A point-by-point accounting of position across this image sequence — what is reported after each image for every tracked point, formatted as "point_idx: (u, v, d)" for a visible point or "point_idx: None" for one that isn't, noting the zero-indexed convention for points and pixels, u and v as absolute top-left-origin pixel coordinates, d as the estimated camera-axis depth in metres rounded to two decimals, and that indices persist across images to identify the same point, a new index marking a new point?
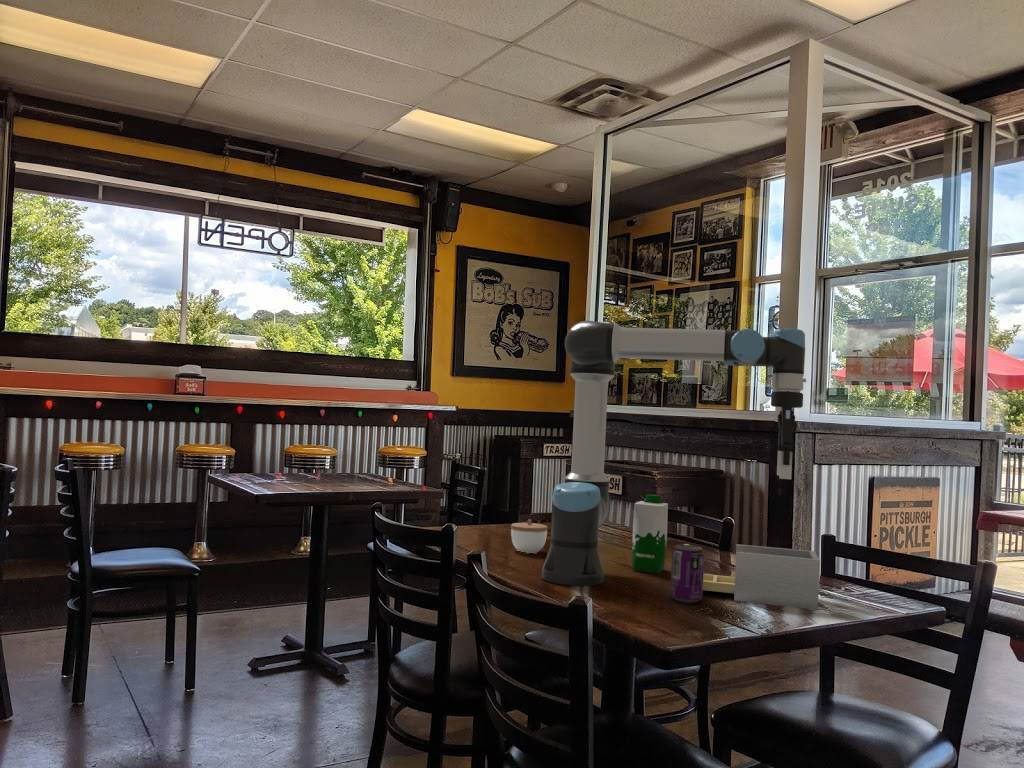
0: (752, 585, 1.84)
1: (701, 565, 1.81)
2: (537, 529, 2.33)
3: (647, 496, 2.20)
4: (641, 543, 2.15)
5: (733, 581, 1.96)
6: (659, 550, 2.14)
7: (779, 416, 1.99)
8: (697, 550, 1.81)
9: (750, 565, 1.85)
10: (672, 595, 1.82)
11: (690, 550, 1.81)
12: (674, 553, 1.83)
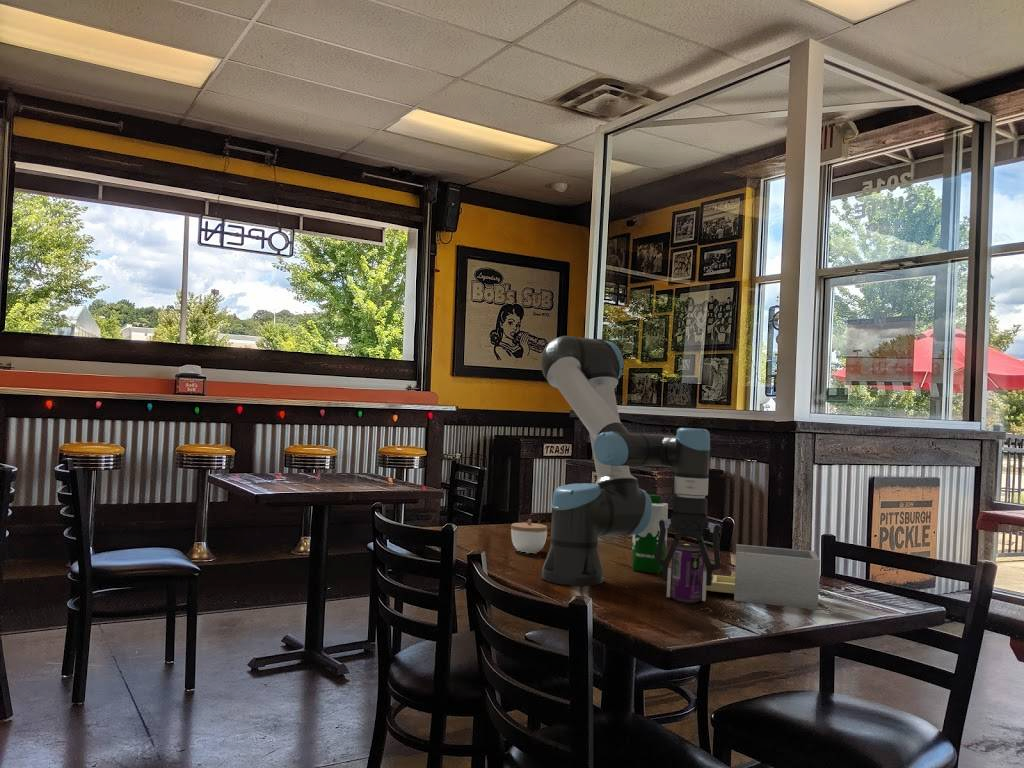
0: (752, 585, 1.84)
1: (701, 565, 1.81)
2: (537, 529, 2.33)
3: None
4: (641, 543, 2.15)
5: (733, 581, 1.96)
6: None
7: None
8: (697, 550, 1.81)
9: (750, 565, 1.85)
10: (672, 595, 1.82)
11: (690, 550, 1.81)
12: (674, 553, 1.83)
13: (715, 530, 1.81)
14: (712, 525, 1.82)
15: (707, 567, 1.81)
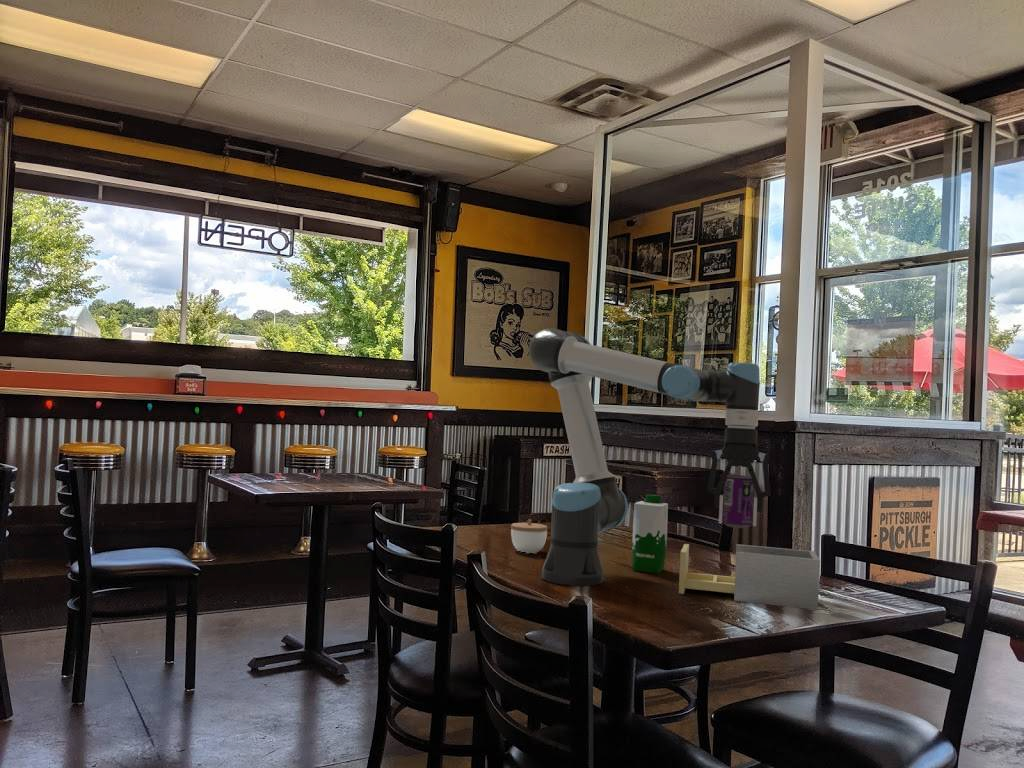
0: (752, 585, 1.84)
1: (752, 492, 1.90)
2: (537, 529, 2.33)
3: (647, 496, 2.20)
4: (641, 543, 2.15)
5: (733, 581, 1.96)
6: (659, 550, 2.14)
7: None
8: (748, 478, 1.90)
9: (750, 565, 1.85)
10: (724, 521, 1.91)
11: (742, 478, 1.90)
12: (726, 481, 1.92)
13: (765, 459, 1.90)
14: (762, 454, 1.91)
15: (758, 494, 1.90)
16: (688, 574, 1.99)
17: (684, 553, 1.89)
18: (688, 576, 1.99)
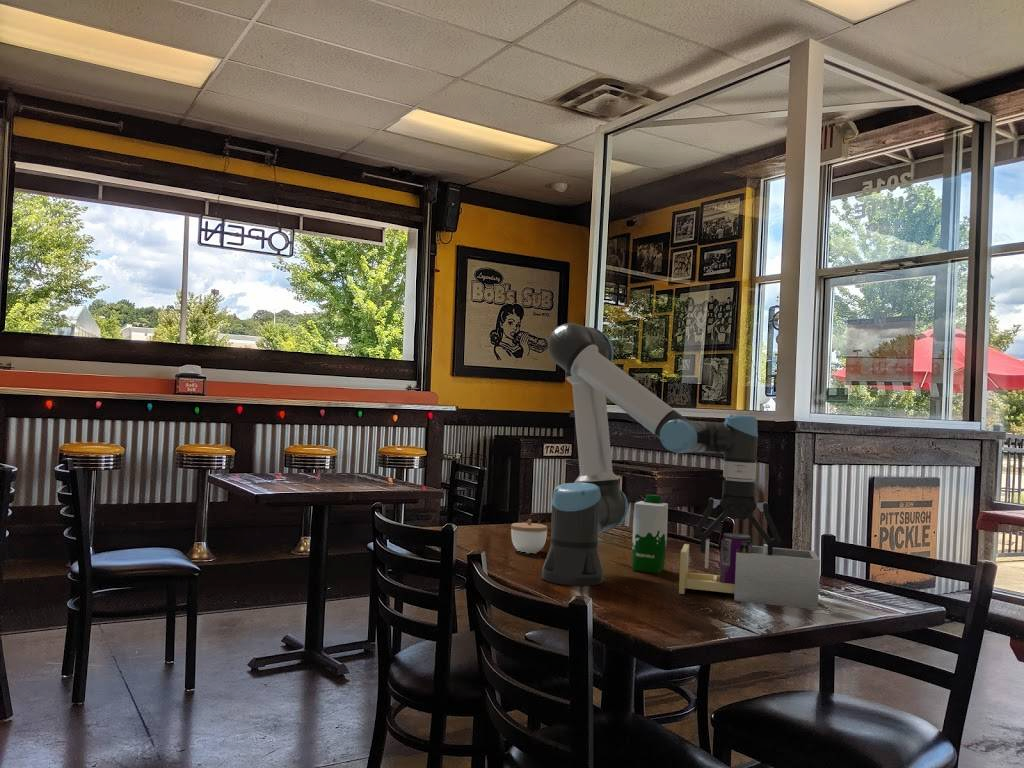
0: (752, 585, 1.84)
1: (750, 552, 1.90)
2: (537, 529, 2.33)
3: (647, 496, 2.20)
4: (641, 543, 2.15)
5: None
6: (659, 550, 2.14)
7: None
8: (746, 538, 1.90)
9: (750, 565, 1.85)
10: (721, 581, 1.91)
11: (739, 538, 1.89)
12: (723, 541, 1.91)
13: (765, 508, 1.90)
14: (760, 505, 1.91)
15: (768, 542, 1.89)
16: (688, 574, 1.99)
17: (684, 553, 1.89)
18: (688, 576, 1.99)
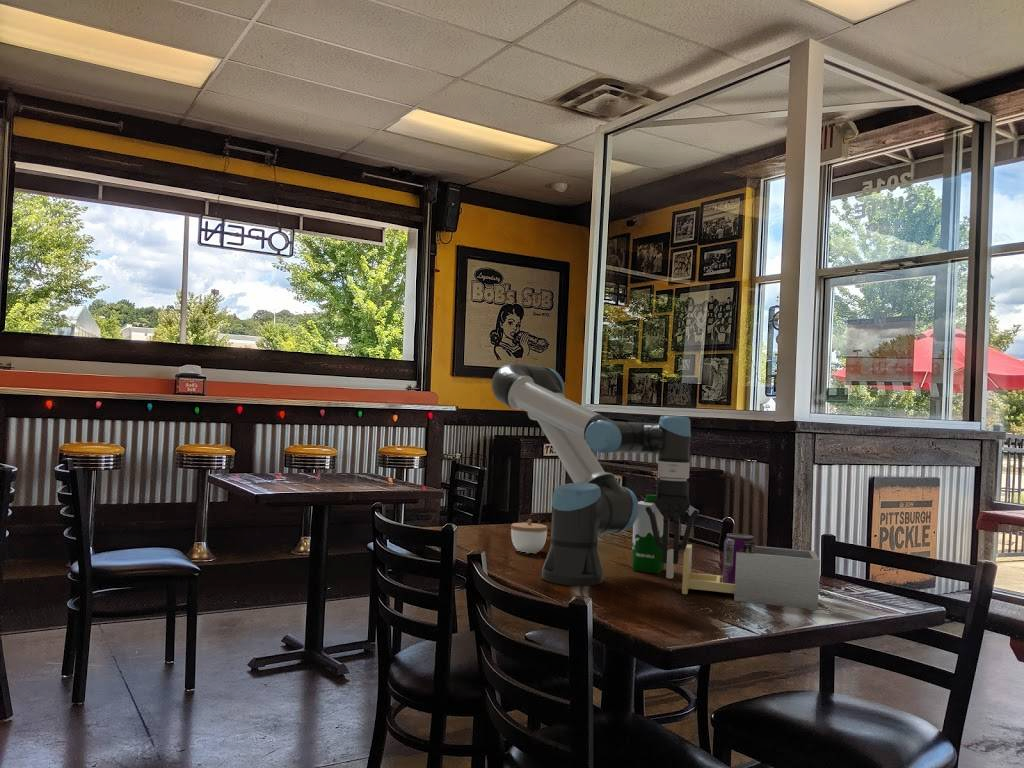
0: (752, 585, 1.84)
1: (753, 552, 1.90)
2: (537, 529, 2.33)
3: (647, 496, 2.20)
4: (641, 543, 2.15)
5: None
6: (659, 550, 2.14)
7: None
8: (749, 538, 1.89)
9: (750, 565, 1.85)
10: (724, 581, 1.91)
11: (742, 538, 1.89)
12: (727, 541, 1.91)
13: (693, 514, 1.94)
14: (692, 509, 1.95)
15: (674, 546, 1.95)
16: (691, 574, 1.99)
17: (687, 553, 1.89)
18: (691, 576, 1.99)
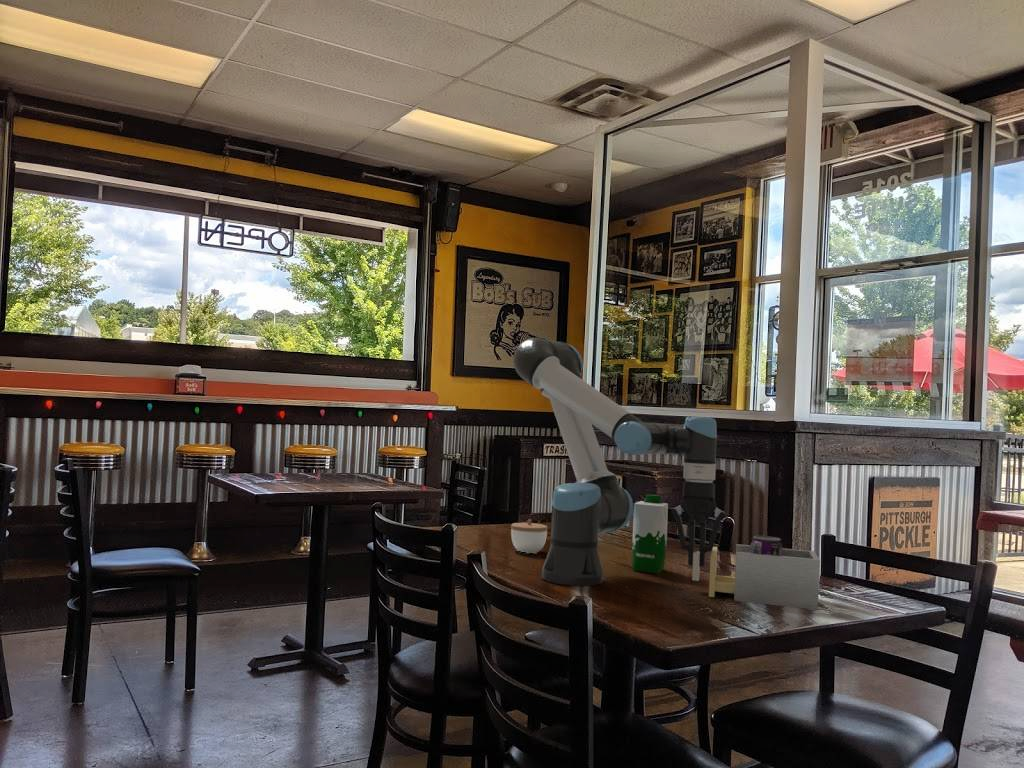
0: (752, 585, 1.84)
1: (780, 555, 1.88)
2: (537, 529, 2.33)
3: (647, 496, 2.20)
4: (641, 543, 2.15)
5: None
6: (659, 550, 2.14)
7: None
8: (776, 540, 1.88)
9: (750, 565, 1.85)
10: None
11: (770, 540, 1.87)
12: (753, 543, 1.90)
13: (719, 516, 1.92)
14: (718, 511, 1.93)
15: (700, 548, 1.93)
16: (717, 577, 1.97)
17: (714, 556, 1.87)
18: (717, 579, 1.97)
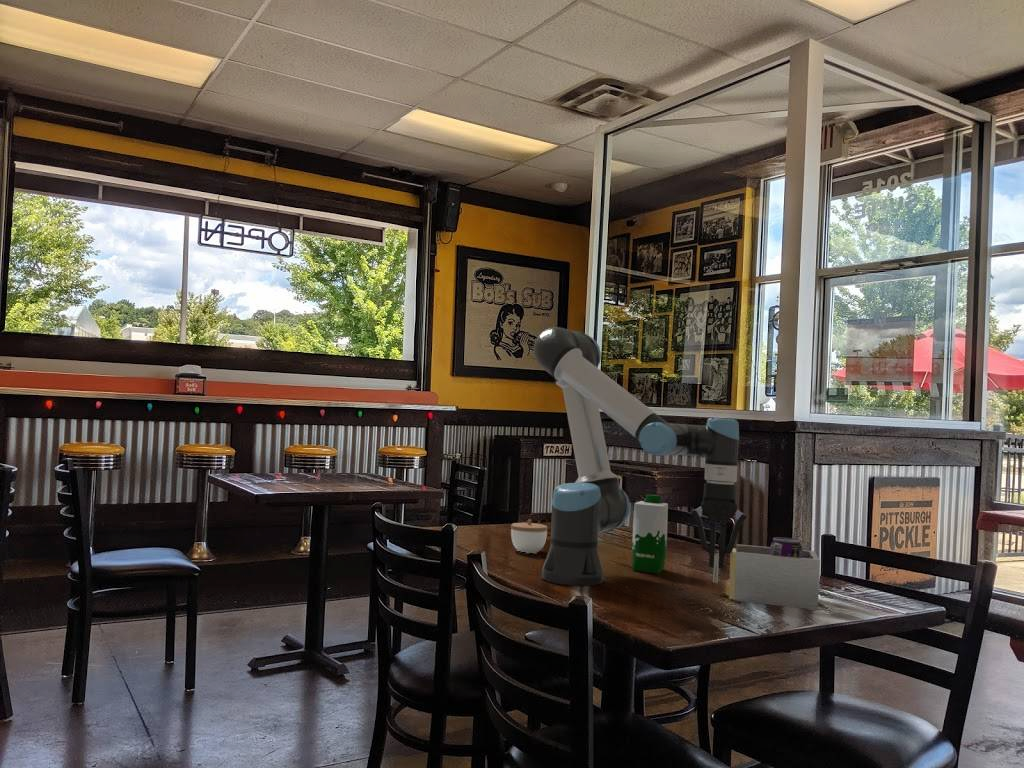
0: (752, 585, 1.84)
1: (800, 557, 1.87)
2: (537, 529, 2.33)
3: (647, 496, 2.20)
4: (641, 543, 2.15)
5: None
6: (659, 550, 2.14)
7: None
8: (797, 542, 1.87)
9: (750, 565, 1.85)
10: None
11: (790, 542, 1.86)
12: (773, 545, 1.88)
13: (740, 518, 1.91)
14: (739, 513, 1.92)
15: (720, 550, 1.92)
16: None
17: (734, 558, 1.86)
18: None
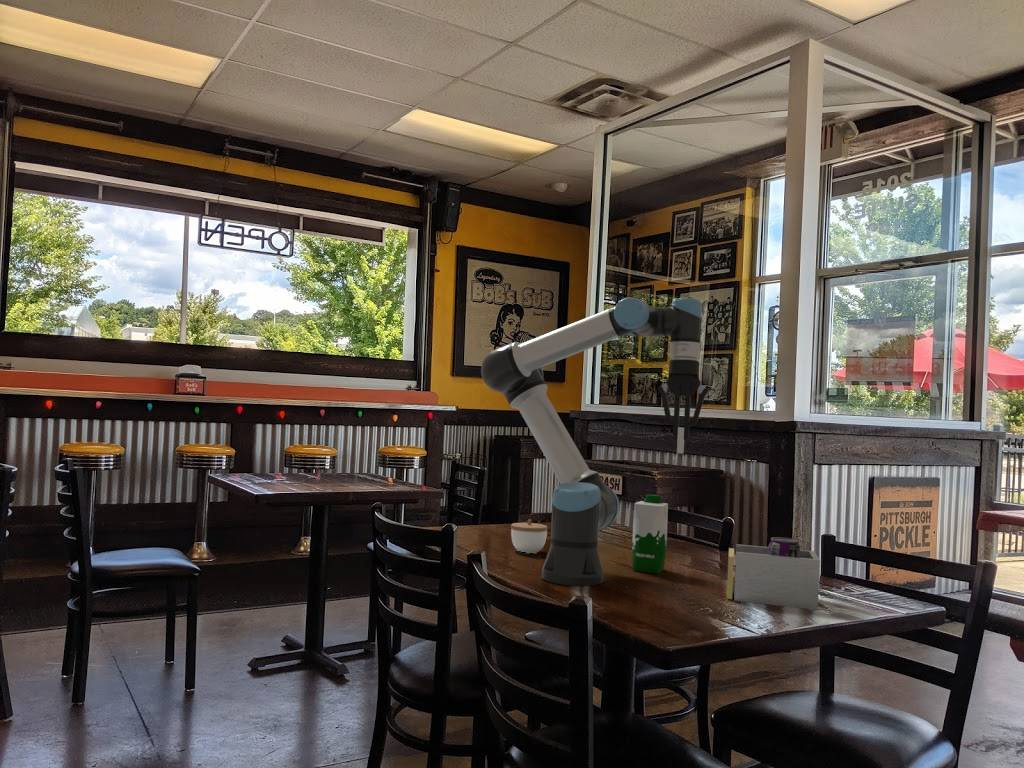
0: (752, 585, 1.84)
1: None
2: (537, 529, 2.33)
3: (647, 496, 2.20)
4: (641, 543, 2.15)
5: None
6: (659, 550, 2.14)
7: None
8: (794, 542, 1.87)
9: (750, 565, 1.85)
10: None
11: (788, 542, 1.86)
12: (771, 545, 1.89)
13: (703, 392, 2.02)
14: (702, 387, 2.03)
15: (685, 423, 2.03)
16: (734, 579, 1.96)
17: (732, 558, 1.86)
18: (734, 581, 1.96)
